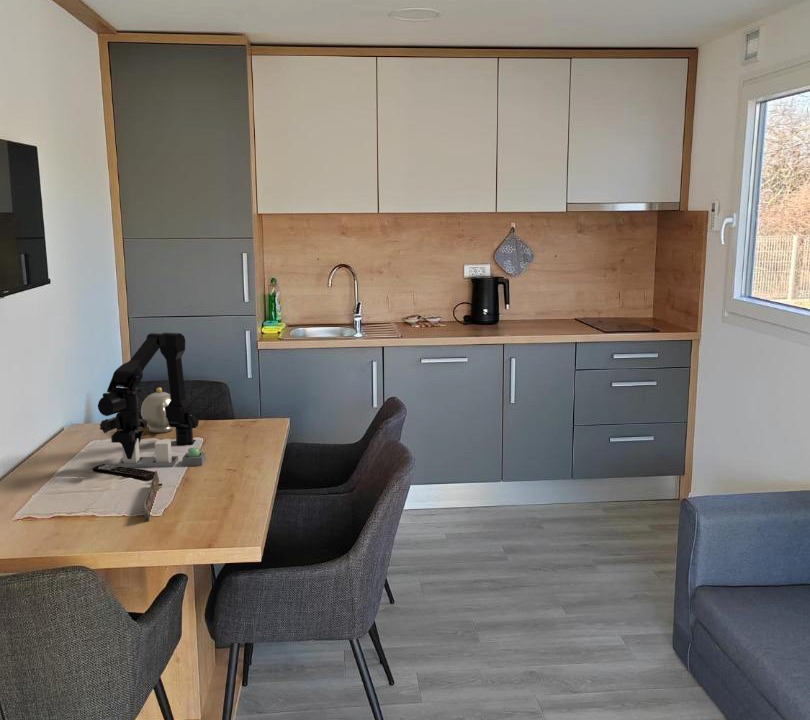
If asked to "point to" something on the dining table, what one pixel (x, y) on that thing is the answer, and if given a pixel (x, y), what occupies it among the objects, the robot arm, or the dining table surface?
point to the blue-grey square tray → (145, 450)
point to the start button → (193, 452)
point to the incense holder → (151, 496)
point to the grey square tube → (194, 460)
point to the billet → (135, 455)
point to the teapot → (156, 411)
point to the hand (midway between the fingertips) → (131, 456)
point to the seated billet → (163, 451)
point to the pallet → (148, 463)
